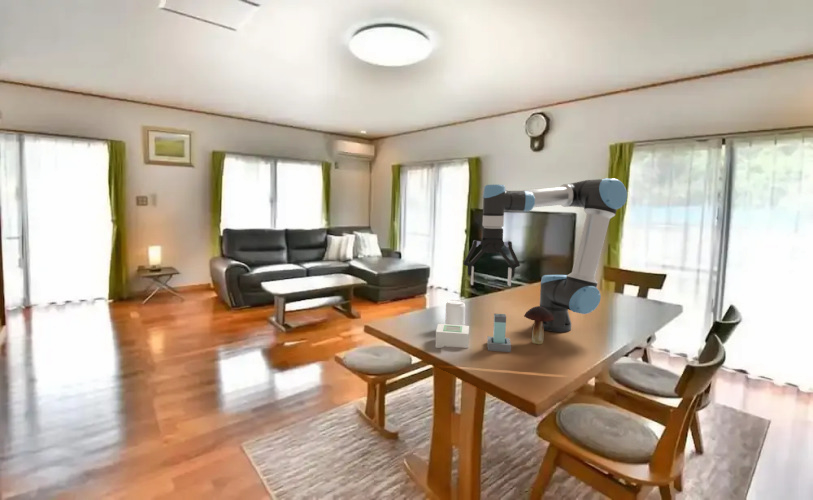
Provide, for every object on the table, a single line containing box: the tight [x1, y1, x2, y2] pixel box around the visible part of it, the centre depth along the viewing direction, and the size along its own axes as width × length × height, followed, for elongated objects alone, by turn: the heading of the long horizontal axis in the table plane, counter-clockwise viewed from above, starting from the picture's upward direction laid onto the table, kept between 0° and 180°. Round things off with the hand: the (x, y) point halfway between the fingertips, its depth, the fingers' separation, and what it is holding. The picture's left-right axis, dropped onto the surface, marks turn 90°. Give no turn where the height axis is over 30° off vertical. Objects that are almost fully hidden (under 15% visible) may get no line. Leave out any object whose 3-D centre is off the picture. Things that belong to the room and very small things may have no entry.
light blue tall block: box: [492, 313, 507, 344], centre depth 146 cm, size 4×4×12 cm
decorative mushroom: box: [523, 305, 554, 345], centre depth 151 cm, size 11×11×15 cm
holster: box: [486, 335, 512, 353], centre depth 147 cm, size 8×8×3 cm
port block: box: [435, 323, 470, 349], centre depth 151 cm, size 12×10×6 cm
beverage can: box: [444, 299, 466, 326], centre depth 169 cm, size 8×8×12 cm
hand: (490, 285), depth 148 cm, fingers open, 13 cm apart
